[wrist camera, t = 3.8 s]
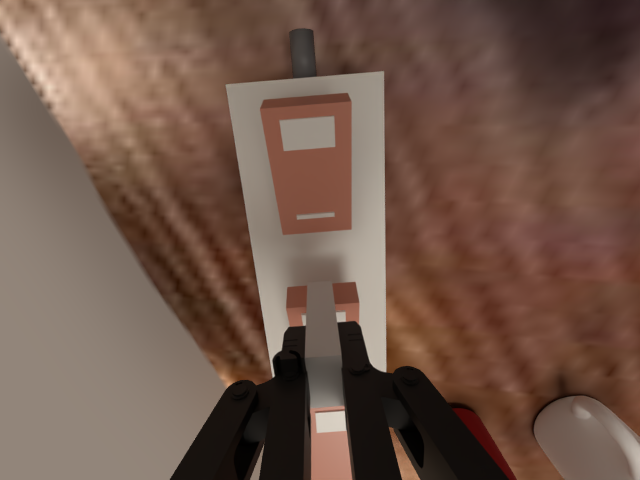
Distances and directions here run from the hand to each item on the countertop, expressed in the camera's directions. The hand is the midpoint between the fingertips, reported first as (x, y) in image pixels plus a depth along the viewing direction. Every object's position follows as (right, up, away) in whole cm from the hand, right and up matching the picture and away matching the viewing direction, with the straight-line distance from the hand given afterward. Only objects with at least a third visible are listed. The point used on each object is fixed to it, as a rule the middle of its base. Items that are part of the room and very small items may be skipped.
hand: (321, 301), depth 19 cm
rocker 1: (-1, +8, 0) cm, 8 cm away
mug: (+27, -15, +15) cm, 35 cm away
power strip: (0, +1, +9) cm, 9 cm away
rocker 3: (+1, -14, +7) cm, 15 cm away
